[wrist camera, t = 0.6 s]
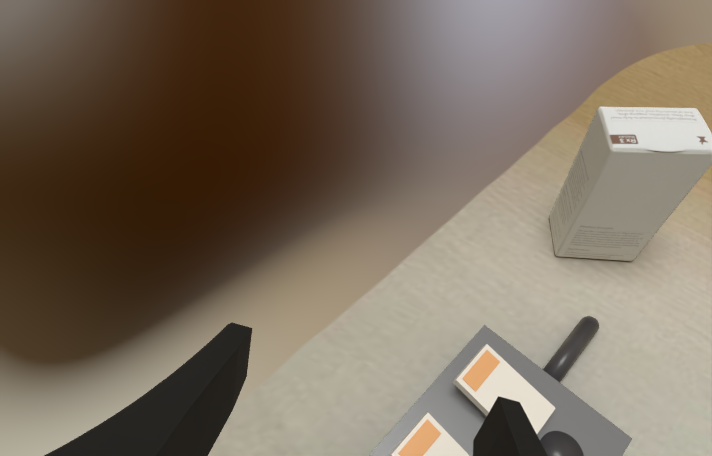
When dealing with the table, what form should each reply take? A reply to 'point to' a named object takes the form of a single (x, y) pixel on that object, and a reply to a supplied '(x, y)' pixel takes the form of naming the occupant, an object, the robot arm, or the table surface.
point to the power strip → (571, 415)
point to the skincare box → (628, 180)
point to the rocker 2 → (501, 386)
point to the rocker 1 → (428, 441)
